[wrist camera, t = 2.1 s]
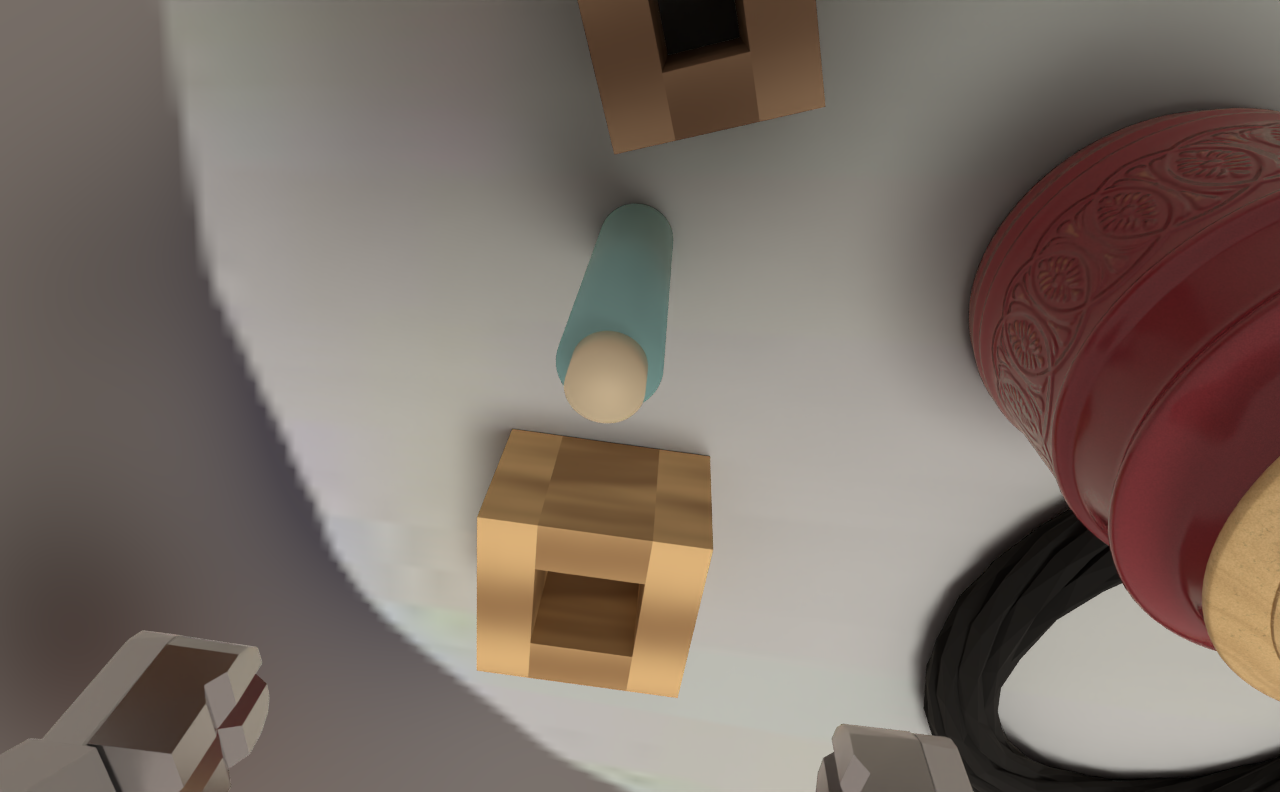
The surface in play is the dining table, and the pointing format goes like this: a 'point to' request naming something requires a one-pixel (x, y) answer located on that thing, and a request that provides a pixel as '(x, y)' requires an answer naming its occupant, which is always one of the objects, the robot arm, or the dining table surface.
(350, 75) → the dining table surface
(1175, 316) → the canister
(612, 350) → the teal peg
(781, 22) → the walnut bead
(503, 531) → the wooden square frame
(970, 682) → the cable lock
